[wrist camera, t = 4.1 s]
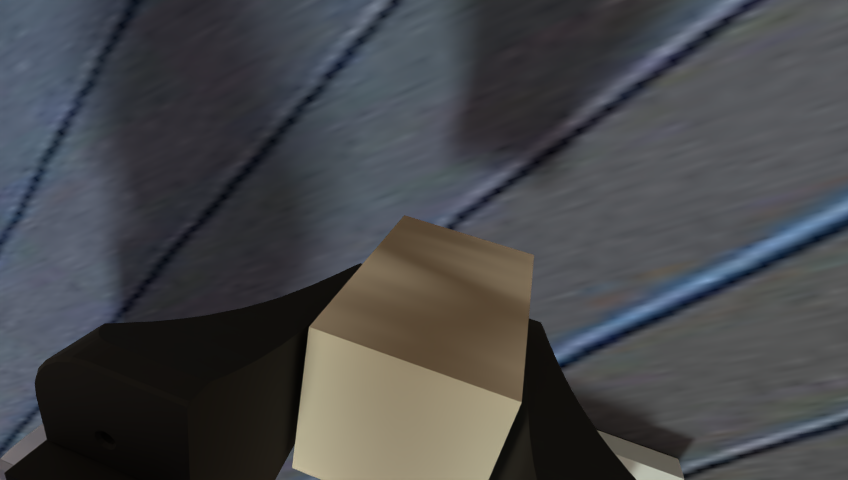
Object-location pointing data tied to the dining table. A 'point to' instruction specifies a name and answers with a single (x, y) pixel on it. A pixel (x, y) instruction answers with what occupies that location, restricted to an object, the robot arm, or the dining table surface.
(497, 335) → the maple peg
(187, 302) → the dining table surface
